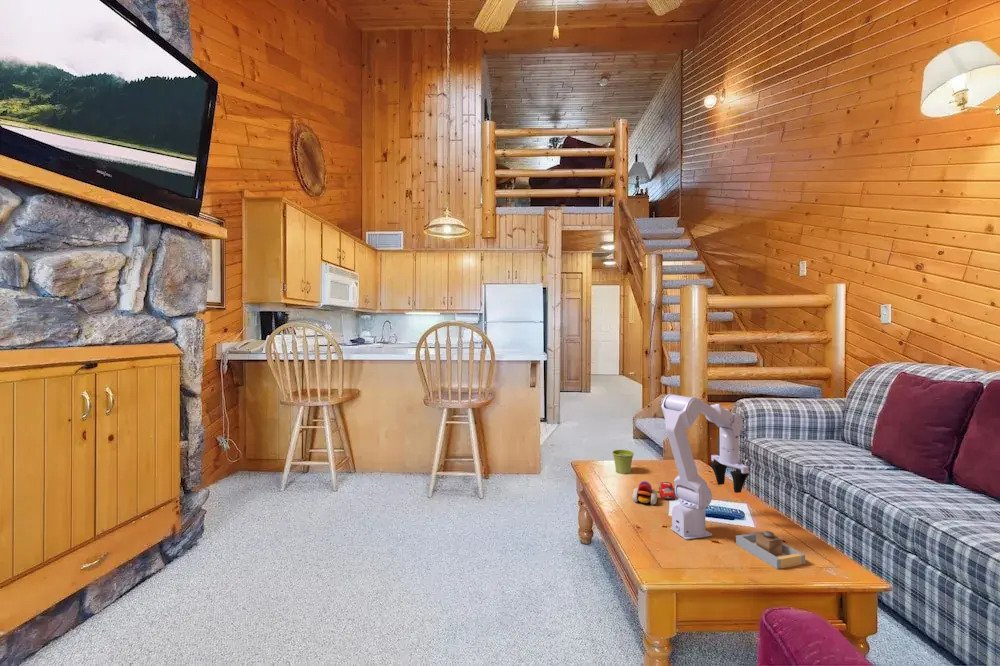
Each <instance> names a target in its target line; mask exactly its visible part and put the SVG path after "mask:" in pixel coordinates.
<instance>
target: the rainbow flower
mask: <svg viewBox="0 0 1000 666" xmlns="http://www.w3.org/2000/svg"><path fill="white" fill-rule="evenodd" d="M632 491H633V492H632V497H631V498H632V500H633V502H634V503H638V501H639V503H642V504H648V503H650V505H651V506H653V505H656V504H657V500H658V492H657V490H655V489H653V487H652V485H651V483H649V481H647V480H644V481H641V482H639V484H638V487H635V488H634V489H633V490H632Z"/></svg>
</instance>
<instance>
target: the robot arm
mask: <svg viewBox="0 0 1000 666" xmlns="http://www.w3.org/2000/svg"><path fill="white" fill-rule="evenodd" d="M660 407H661V411H662V414H663V417H664V421H665V424H664V425H665V431H666V434H667V438H668V441H669V445H670V449H671V453H672V455H673V459H674V462H675V466H676V469H677V473H678V475H677V476H675V478H674V480H673V483H674V489H675V490H674V494H675V498H677V499H678V502H679V503H678V504H677V505H674V506H673V507H672V510H671V527H670V530H672V531H673V532H675V534H677V535H679V536H681V537H682V538H683V539H684V540H692V539H693V540H694V539H700V538H708V537H712V536H713V533H711V532H709V531H708V530H706V508H708V507H709V505H710V504H711V503H712V501H713V500H712V499H713V493H712V490H711V489H710V487H709V486H708V483H707V481H706V480H705V479H704V478H703V477H702V476H700V475H699V473H698V470H697V467H696V466H697V465H696V462H695V459H694V456H693V451H692V449H691V444H690V441H689V437H688V434H687V430H688V429H690V428H692V426H693V425H694V423H695V421H696V420H697V418H698V417H699V415H704V416H705V419H706V420H708V422H711V423H713V424H715V425H716V427H718V428H719V455H718V454H711V457H710V458H711V460H710V461H712V462H710V466H711V469H712V470H713V473H714V475H715V479H716V484H717V485H718V486H719V485H720V486H722V485H725V482H726V481H725V480H726V479H725V478H726V470H727V468H728V467H729V468H730V469H733V470H731V471H730V475H731V478H732V483H733V484H732V485H733V491H734V493H735V494H738V493H742V490H743V487H744V484H745V482H746V479H747V478H748V477H749V476H750V472H749V466H747V465H744V464H743V463H742V460H740V452H739V451H740V450H739V449H740V448H739V447H740V445H739V444H740V442H739V441H740V440H739V439H740V436H741V432H742V431H741V429H742V427H743V424H744V421H743V419H742V416H741V415H740V414H739V413H735V412H731V411H730V409H729V408H723V407H722V404H719V403H715V404H711V405H710V404H708V403H707V402H705V401H703V400H702V399H701V398H697V397H695V396H687V395H686V396H685V395H679V394H673V393H668V394H667V395H666V396H664V398H663V401H662V404H661V405H660Z"/></svg>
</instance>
